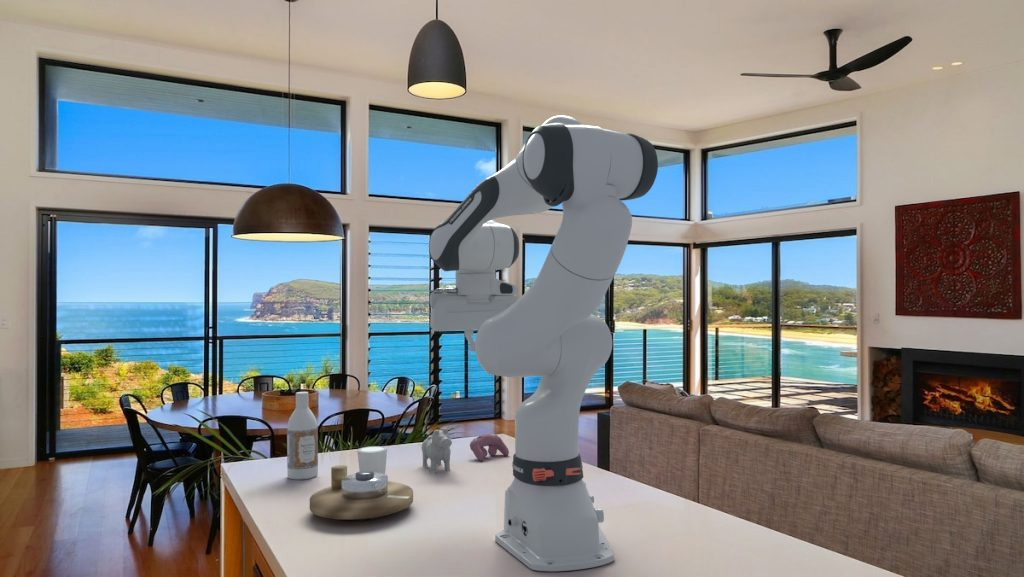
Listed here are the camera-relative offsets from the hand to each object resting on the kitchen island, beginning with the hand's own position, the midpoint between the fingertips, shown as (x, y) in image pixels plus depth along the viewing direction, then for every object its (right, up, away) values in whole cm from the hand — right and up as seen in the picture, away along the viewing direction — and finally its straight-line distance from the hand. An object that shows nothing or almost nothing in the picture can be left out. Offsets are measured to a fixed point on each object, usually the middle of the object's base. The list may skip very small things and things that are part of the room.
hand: (477, 351), depth 145 cm
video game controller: (+1, -31, +31) cm, 44 cm away
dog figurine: (-11, -31, +19) cm, 38 cm away
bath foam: (-42, -31, +14) cm, 55 cm away
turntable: (-22, -29, -13) cm, 39 cm away
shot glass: (-25, -31, +11) cm, 41 cm away
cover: (-22, -27, -12) cm, 37 cm away
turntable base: (-22, -30, -13) cm, 40 cm away
